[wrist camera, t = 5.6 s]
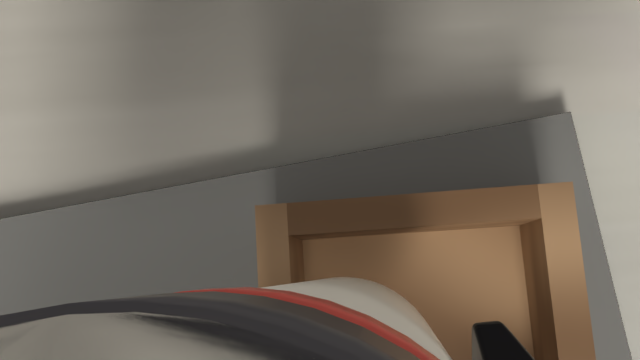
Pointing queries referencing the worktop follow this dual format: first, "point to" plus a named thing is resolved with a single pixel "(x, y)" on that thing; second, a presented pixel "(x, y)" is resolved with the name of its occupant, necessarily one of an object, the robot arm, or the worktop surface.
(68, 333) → the white lens
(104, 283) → the rubber mat
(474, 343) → the robot arm
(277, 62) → the worktop surface
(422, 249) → the wooden tray
